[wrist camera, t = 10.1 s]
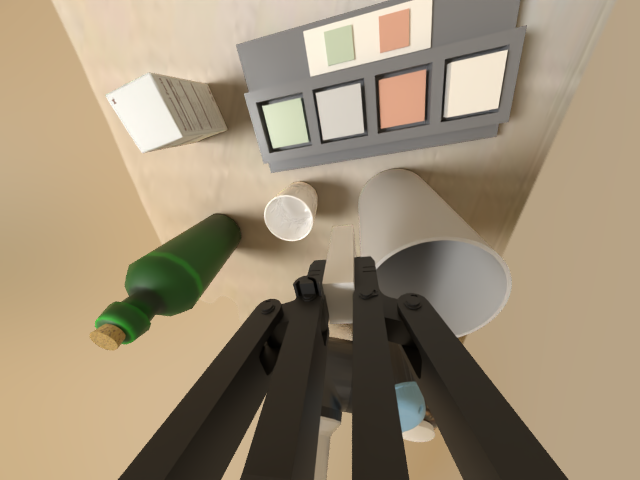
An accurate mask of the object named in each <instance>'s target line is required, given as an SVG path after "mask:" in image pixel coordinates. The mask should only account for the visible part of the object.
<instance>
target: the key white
mask: <svg viewBox="0 0 640 480" xmlns="http://www.w3.org/2000/svg"><path fill="white" fill-rule="evenodd" d="M507 52H508V50H504V51H500V52H495V53H491V54H486V55H482V56H478V57H473V58H469V59H464V60H460V61H455V62H451V63H449V64H447V72H446V86H445V101H444V115H443V117H447V118H448V117H453V116H459V115H464V114H470V113H475V112H481V111H486V110H491V109H497V108H498V106H499V100H500V94H501V88H502V82H503V76H504V70H505V64H506V58H507Z"/></svg>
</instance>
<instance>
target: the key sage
mask: <svg viewBox="0 0 640 480" xmlns="http://www.w3.org/2000/svg"><path fill="white" fill-rule="evenodd" d="M262 108H263V112H264V116H265V120H266V124H267V127H268V131H269V135H270V139H271V143H272V147H273V148H279V147H284V146H290V145H295V144H301V143H306V142H309V141H310V136H309V130H308V125H307V119H306V114H305V108H304V103H303V98H297V99H292V100H288V101H283V102H279V103H274V104H270V105H265V106H262Z"/></svg>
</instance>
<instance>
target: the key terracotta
mask: <svg viewBox="0 0 640 480" xmlns="http://www.w3.org/2000/svg"><path fill="white" fill-rule="evenodd" d="M425 89H426V69H425V70H421V71H417V72H412V73H408V74H403V75H399V76H394V77H390V78H385V79H381V80H378V100H379V121H380V128H381V129H382V128H388V127H393V126H399V125H404V124H410V123H415V122H420V121H424V117H425Z"/></svg>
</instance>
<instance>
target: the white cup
mask: <svg viewBox="0 0 640 480" xmlns="http://www.w3.org/2000/svg"><path fill="white" fill-rule="evenodd" d="M317 204H318V196H317V193H316V191H315V189H314V188H313V187H312V186H311V185H310V184H308V183H305V182H302V181H300V182H293V183H292V184H291V185H289V186H288V187H286V188H285V189H283V190H282V191H281V192H280V193H278V194H277V195H276V196H275V197H274V198H273V199H272V200H271V201H270V202H269V203H268V204H267V206H266V208H265V211H264V219H265V223H266V225H267V227H268V229H269V230H270V231H271V232H272V233H273V234H274V235H275V236H277V237H278V238H280V239H283V240H286V241H297V240H301V239H303V238H304V237H306V236H307V235H308V234H309V233H310V231H311V229H312V227H313V223H314V219H315V215H316V210H317Z"/></svg>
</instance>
